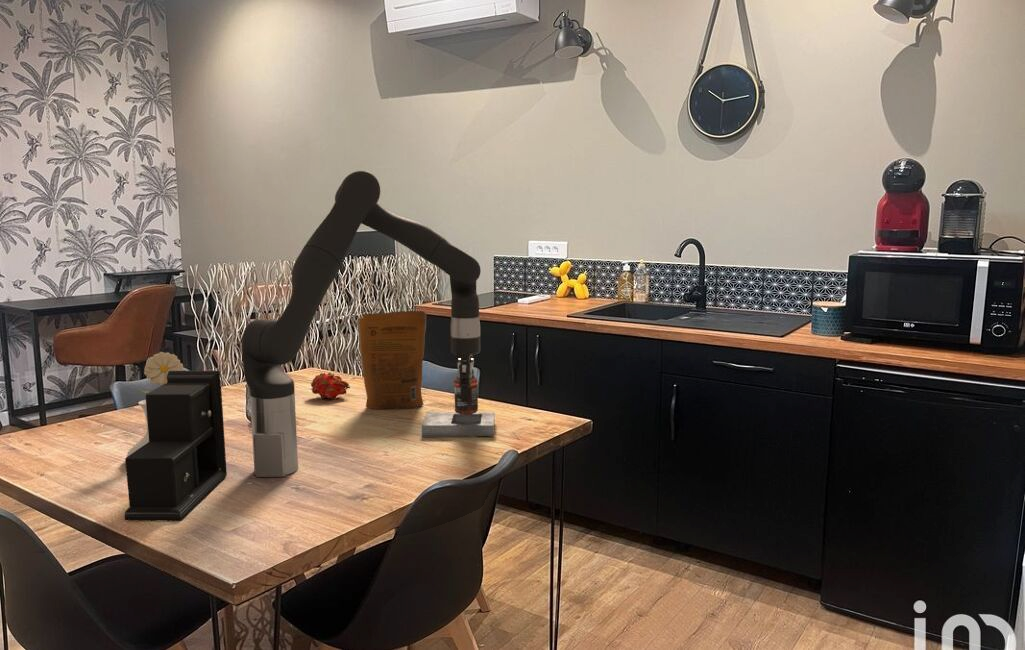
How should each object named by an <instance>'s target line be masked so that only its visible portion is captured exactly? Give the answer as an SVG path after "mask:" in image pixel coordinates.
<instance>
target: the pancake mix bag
mask: <svg viewBox="0 0 1025 650" xmlns="http://www.w3.org/2000/svg"><path fill="white" fill-rule="evenodd" d="M426 330H427V312H425V311H422V310H407V311H406V310H405V311H391V312H390V311H389V312H383V313H382V312H378V313H377V312H376V313H362V317H358V318H357V331H358V347H359V348H358V349H359V350H358V351H359V354H360V363H361V367H362V368H361V369H362V373H363V374H362V375H363V381H364V383H363V384H364V388H365V393H366V403H365V407H366V408H368V409H371V408H373V409H372V410H377V409H378V410H395V408H401V409H416V408H415V407H417V408H420V407H422V405H423V406H424V400H423V396H422V380H423V360H424V354H425V345H426V338H425V337H426ZM419 406H420V407H419Z"/></svg>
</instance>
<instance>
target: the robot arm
mask: <svg viewBox="0 0 1025 650" xmlns="http://www.w3.org/2000/svg"><path fill="white" fill-rule="evenodd" d="M380 197H381V185H380V182H379V180H378V179H377V177H376V176H375V174H373V173H371V172H370V171H366V170H356V171H354V172H351V173H349V174H348V175H347V176H346V177H344V179H343V180H342V182H341V184H340V185H339V187H338V188H337V190H336V193H335V196H334V204H333V206H332V207H331V209H330V210H329V212H328V214H327V215H326V217H325V218H324V219H323V220H322V222H321V223H320V224H319V226H317V228H316V229H315V231H314V232H313V233H312V234H311V236H310V238H309V239H308V241H306V243H305V244H304V246H303V248H302V250H301V252H300V253H299V254H298V256H297V258H296V260H295V262H294V263H293V265H292V269H291V270H292V271H291V296H290V299H289V302H288V304H287V306H286V308H285V309H284V311H283V313H282V314H281V316H280V317H279V318H278V319H277V320H273V319H265V318H263V319H262V318H260V319H254V320H252V321H250V322H249V323H248V324H247V325H246V327H245V328H244V330H243V334H242V338H241V352H242V353H241V355H242V363H243V372H244V380H245V383H246V385H247V387H248V388H249V398H250V399H249V402H250V418H251V420H250V422H251V438H252V452H253V453H252V455H253V471H254V474H255V477H256V478H276V477H277V478H279V477H280V478H283V477H286V476H288V475H289V474H290V475H291V474H293V473H295V472H296V471H298V469H299V457H298V437H297V435H298V433H297V415H296V395H295V394H296V392H295V391H296V390H295V381H294V379H292V377H291V376H289V375H288V374H286V372H285V371H284V370H283V369H282V367H281V365H286V364H288V363H290V362H292V360H294V359H295V357H296V356H297V355H298V353H299V352H300V349H302V348H301V347H302V345H303V343H304V342H305V341H304V340H305V338H306V336H307V334H308V331H309V330H310V327H311V324H312V321H313V319H314V318H315V317H314V316H315V315H316V313H317V311H318V309H319V307H320V305H321V303H322V301H323V299H324V298H325V295H326V294H327V292H328V290H329V288H330V286H331V285H332V283H333V282H334V280H335V278H336V277H337V275H338V273H339V272H340V269H341V268H342V266H343V263H344V261H345V259H346V257H347V255H348V253H349V251H350V249H351V246H352V244H353V242H354V239H355V237H356V234H357V232H358V230H359V228H360V226H361V225H364V226H366V227H368V228H370V229H372V230H374V231H376V232H378V233H380V234H382V235H384V236H386V237H388V238H390V239H392V240H393V241H394V242H395V241H396V242H397V243H399V244H401V245H403V246H404V247H406V248H407V249H409V250H410V251H412V252H413V253H415V254H417V256H418V257H420V258H422V259H424V260H425V261H427V262H428V263H430V264H432V265H434V266H436V267H437V268H439V269H440V270H441V271H443V272H444V273H446V274H447V275H448V276H449V285H450V291H451V292H450V293H451V302H450V311H451V312H450V313H451V314H450V316H451V319H450V320H451V321H450V352H451V353H452V354H454V355H459V356H460V358H458V360H457V368H458V369H457V376H458V377H459V380H460V384H459V386H460V388H461V402H469V401H470V386H471V385H470V379H472V369H473V370H474V364H475V358H473V355H478V354H479V353H480V352H481V323H480V321H481V320H480V299H479V296H478V293H477V281H478V279H479V278H480V276H481V271H482V270H481V266H480V263H479V262H478V261H477V259H476V258H474V257H472V256H471V255H469V254H468V253H466V251H464V250H461V249H460V248H459V247H457V246H455V245H453V244H452V243H450V242H449V241H448V240H447V238H446V239H445V237H443V236H442V235H440V234H438V233H437V232H435V231H434V230H433V229H432V228H430V227H428V226H426V225H425V224H422V223H420V222H418V221H416V220H412V219H409V218H406V217H402V216H400V215H398V214H395V213H393V212H390V211H389V210H387V209H386V208H384V207H382V205H380V204H379V203H378V202H379V200H380ZM469 373H470V374H469ZM463 379H467V382H462V380H463Z"/></svg>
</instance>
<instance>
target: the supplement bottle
mask: <svg viewBox="0 0 1025 650" xmlns="http://www.w3.org/2000/svg"><path fill="white" fill-rule="evenodd" d="M469 374H470V373H469ZM453 380H454V382H453V383H454V384H453V385H454V388H453V389H454V411H455V412H456V413H458V414H464V415H467V414H474V413H476V412H478V411H479V399H478V398H479V397H478V396H479V394H478V392H479V391H478V377H476V376H474V368H473V369H472V379H470V385H471V386H470V401H469V402H461V388H460V386H459V384H460V380H459V377H458V375H457V376H456V377H455V378H454V379H453ZM462 382H467V379H463V380H462Z"/></svg>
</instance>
